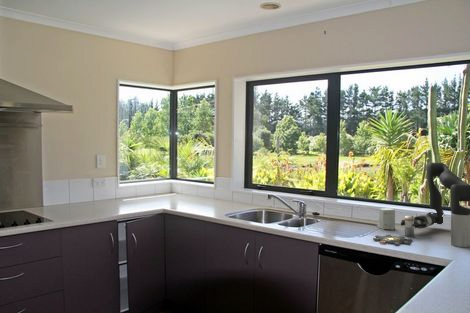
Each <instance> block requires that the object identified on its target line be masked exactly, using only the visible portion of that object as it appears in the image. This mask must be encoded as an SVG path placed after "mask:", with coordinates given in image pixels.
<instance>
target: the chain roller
mask: <svg viewBox="0 0 470 313" xmlns="http://www.w3.org/2000/svg"><path fill="white" fill-rule="evenodd" d="M414 218H415V216H414V215H405V216H404V220H405V225H404V237H406V238H415V226H414Z"/></svg>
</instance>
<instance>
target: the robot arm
mask: <svg viewBox="0 0 470 313" xmlns="http://www.w3.org/2000/svg"><path fill="white" fill-rule="evenodd" d="M426 178H427V184H428V192H429V208H430V209H432V210H433V211H435V212H432V211H431V212H427V213H426V214H421V215H417V216H414V229H424V228H428V227H430V226H432V225H434V223H437V224H436V225H443V224H444V223H443V217H442V215H443V214H444V215H445V213H444V210H443V203H442V202H443V197H442V193H441V192H440V190H439V188H438V187H437V185H436V183H435V181H434V178H439V179H438V180H439V182H440V184H441V185H442V186H443V187H444V188H445V189H447V190H449V196H450V197H449V198H450V199H449V201H450V245H451V246H454V247H459V248H467V249H468V248H470V208H468V207H466V206H463V205H461V204H460V202H470V183H469V182H466V181H464V180H462V178H460V177H458V175H456V174H455V173H454V172H452V170H450V168H449V167H448V166H447V165H446V164H445V163H444V162H428V163H427V165H426ZM431 213H433V214H431ZM442 223H443V224H442ZM400 226H403V227H404V226H405V219H401V222H400Z"/></svg>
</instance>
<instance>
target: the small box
mask: <svg viewBox="0 0 470 313" xmlns="http://www.w3.org/2000/svg"><path fill="white" fill-rule="evenodd" d="M379 227H380V228H382V229H381V230H383V229H391V230H396V209H394V208H390V207H386V208H378V228H379ZM380 228H379V229H380Z"/></svg>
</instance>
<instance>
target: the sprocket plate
mask: <svg viewBox="0 0 470 313" xmlns="http://www.w3.org/2000/svg"><path fill="white" fill-rule="evenodd" d="M375 237H376V238H375ZM405 237H406V236H405V235H399V236H397V235H391V234H385V235H379V234H377V235H375V236H374V237H373V238H372V241H373V240H377V241H376V242H379V244H380V243H382V244H381V245H386V243H388V245H393V246H396V247H401V246H400V245H407V246H410V244H411V245H412V243H413V241H414V240H413V239H412V238H405Z"/></svg>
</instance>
